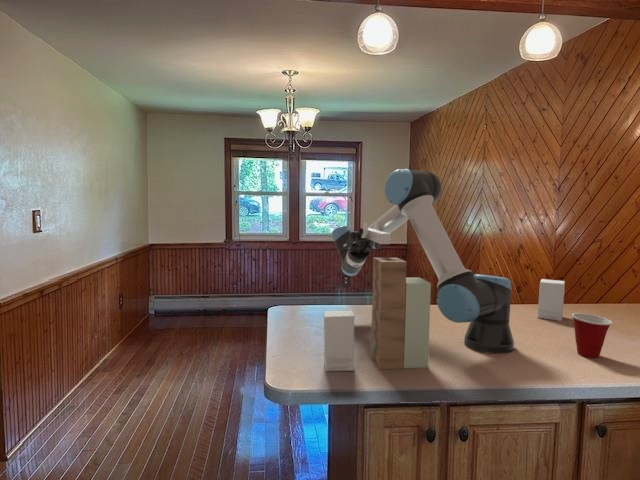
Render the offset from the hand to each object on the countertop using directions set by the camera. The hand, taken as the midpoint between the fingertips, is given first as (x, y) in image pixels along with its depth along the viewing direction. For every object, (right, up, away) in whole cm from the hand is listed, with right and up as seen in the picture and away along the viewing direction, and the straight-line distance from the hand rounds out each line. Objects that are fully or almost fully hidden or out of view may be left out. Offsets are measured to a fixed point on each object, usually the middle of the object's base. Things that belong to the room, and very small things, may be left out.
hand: (371, 226), depth 147 cm
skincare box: (-12, -40, -21) cm, 47 cm away
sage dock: (+9, -40, -16) cm, 44 cm away
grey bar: (+1, -5, -4) cm, 6 cm away
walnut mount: (+2, -40, -17) cm, 44 cm away
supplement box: (+77, -36, +37) cm, 93 cm away
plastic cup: (+66, -40, -8) cm, 78 cm away
